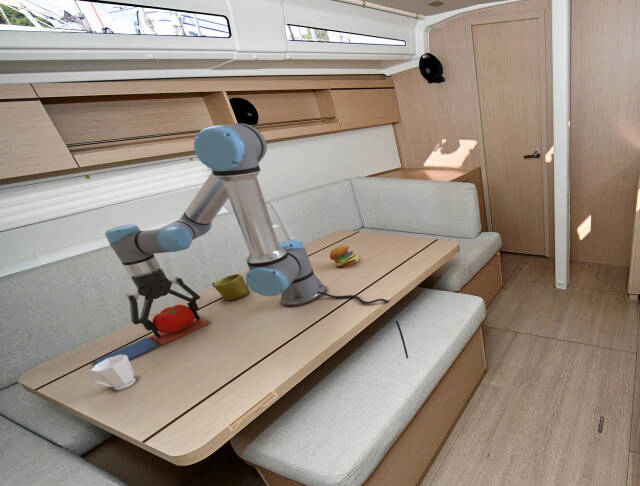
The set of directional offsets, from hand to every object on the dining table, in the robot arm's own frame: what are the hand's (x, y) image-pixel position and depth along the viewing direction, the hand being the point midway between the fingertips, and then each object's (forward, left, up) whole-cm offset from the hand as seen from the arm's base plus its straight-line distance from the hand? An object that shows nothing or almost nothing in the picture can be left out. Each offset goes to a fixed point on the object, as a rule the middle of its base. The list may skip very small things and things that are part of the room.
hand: (178, 327), depth 123 cm
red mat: (0, 0, -1) cm, 1 cm away
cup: (-18, +20, -2) cm, 27 cm away
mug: (+10, -21, -2) cm, 23 cm away
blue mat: (0, +14, -1) cm, 14 cm away
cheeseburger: (-9, -61, -2) cm, 62 cm away
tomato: (0, 0, 0) cm, 0 cm away
